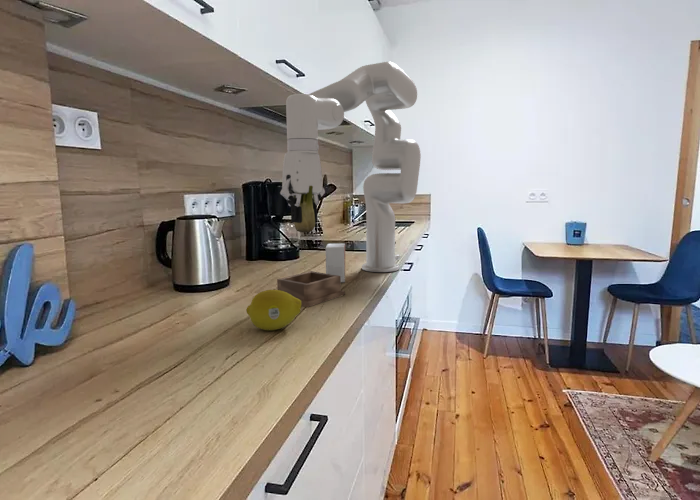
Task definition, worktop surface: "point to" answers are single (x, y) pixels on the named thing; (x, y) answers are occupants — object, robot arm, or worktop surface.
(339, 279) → the open wooden box
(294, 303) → the lemon
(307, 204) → the fennel bulb
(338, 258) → the small box
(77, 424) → the worktop surface
